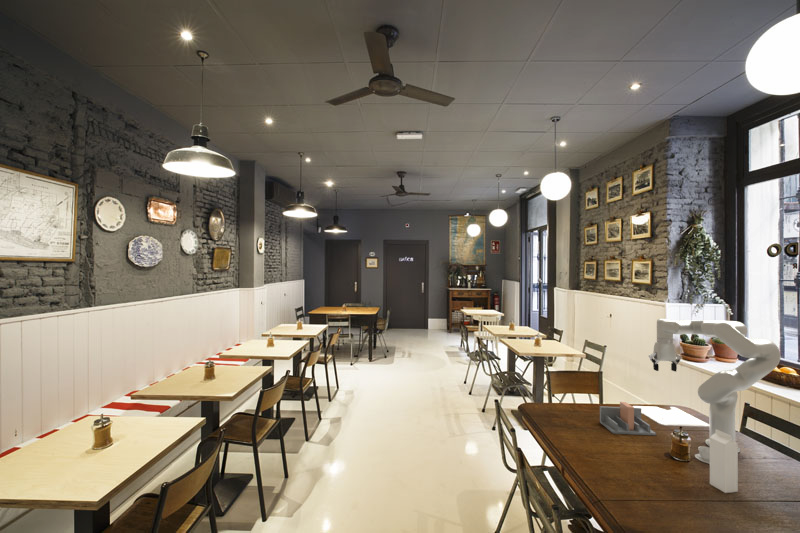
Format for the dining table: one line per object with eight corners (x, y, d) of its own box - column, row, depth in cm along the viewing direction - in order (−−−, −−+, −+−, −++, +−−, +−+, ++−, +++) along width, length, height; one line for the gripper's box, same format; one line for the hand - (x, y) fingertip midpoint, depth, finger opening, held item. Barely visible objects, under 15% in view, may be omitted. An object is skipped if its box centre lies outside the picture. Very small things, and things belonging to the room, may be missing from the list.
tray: (630, 407, 227) (630, 405, 227) (675, 408, 226) (675, 406, 226) (661, 426, 199) (661, 423, 199) (712, 427, 198) (712, 425, 198)
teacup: (729, 467, 156) (729, 456, 156) (703, 464, 158) (703, 454, 158) (713, 456, 166) (713, 446, 166) (689, 453, 168) (689, 443, 168)
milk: (721, 483, 144) (721, 428, 144) (738, 492, 138) (738, 435, 138) (709, 484, 143) (709, 429, 143) (725, 493, 137) (725, 435, 137)
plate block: (633, 429, 190) (633, 407, 190) (628, 429, 190) (628, 407, 190) (625, 423, 198) (625, 402, 198) (620, 423, 198) (620, 401, 198)
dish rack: (656, 435, 186) (656, 417, 186) (612, 433, 188) (612, 416, 188) (639, 424, 200) (639, 407, 200) (599, 422, 202) (599, 406, 202)
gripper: (675, 339, 205) (676, 369, 205) (645, 339, 206) (645, 368, 206) (685, 342, 197) (685, 372, 197) (653, 341, 199) (653, 372, 198)
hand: (664, 370), depth 201 cm, fingers open, 9 cm apart
